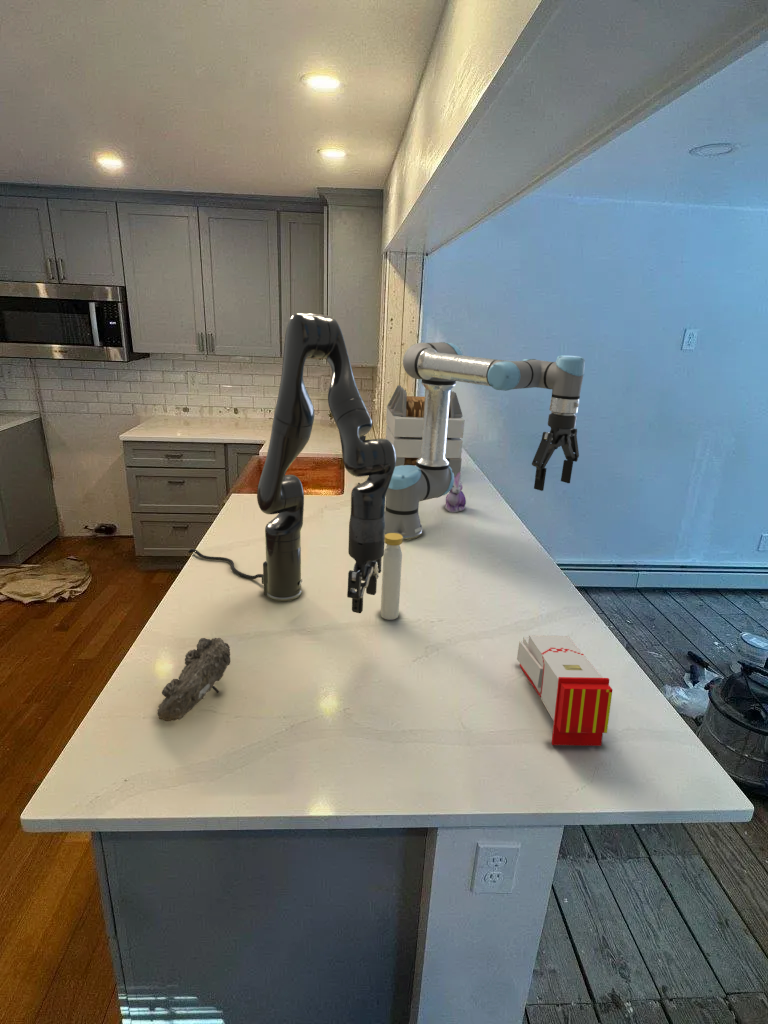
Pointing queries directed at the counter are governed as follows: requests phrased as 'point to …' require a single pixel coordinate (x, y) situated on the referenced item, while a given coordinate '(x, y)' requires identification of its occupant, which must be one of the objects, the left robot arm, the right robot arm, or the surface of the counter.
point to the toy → (567, 688)
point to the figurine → (456, 496)
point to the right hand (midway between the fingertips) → (552, 485)
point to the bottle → (391, 582)
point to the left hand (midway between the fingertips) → (364, 602)
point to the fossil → (195, 678)
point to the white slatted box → (421, 429)
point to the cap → (393, 539)
